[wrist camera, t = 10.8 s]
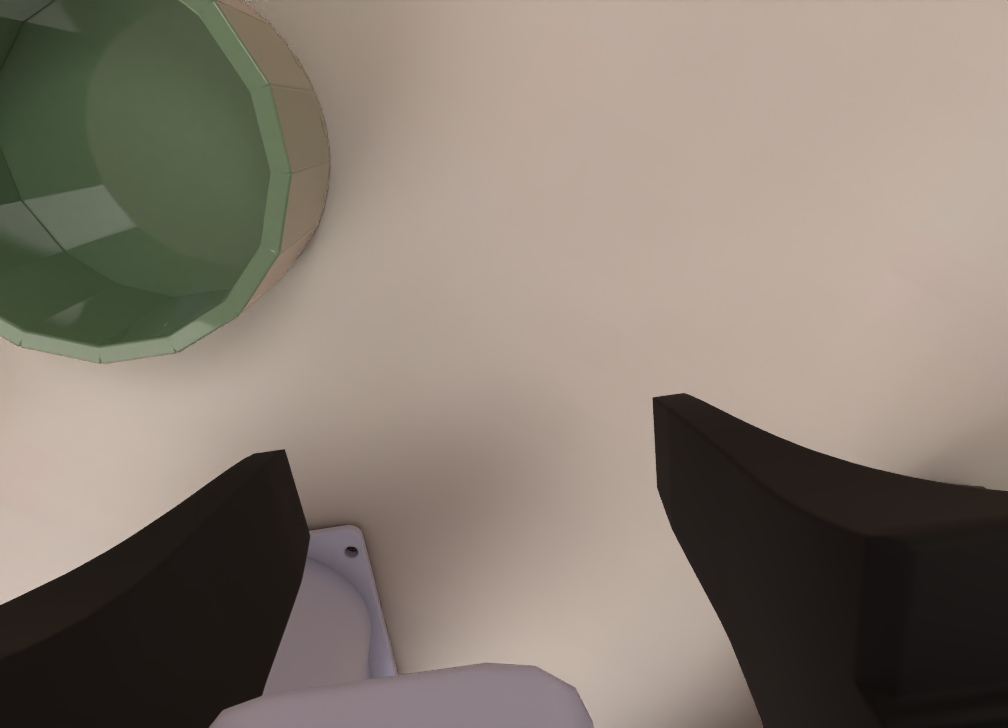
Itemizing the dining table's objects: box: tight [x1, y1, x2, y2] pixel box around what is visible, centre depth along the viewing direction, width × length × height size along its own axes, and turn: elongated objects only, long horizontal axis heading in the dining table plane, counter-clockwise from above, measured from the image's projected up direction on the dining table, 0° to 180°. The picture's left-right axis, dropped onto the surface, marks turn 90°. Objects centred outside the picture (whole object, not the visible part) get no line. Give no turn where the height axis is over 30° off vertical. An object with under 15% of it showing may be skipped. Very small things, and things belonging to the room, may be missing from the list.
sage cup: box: [0, 0, 330, 364], centre depth 17 cm, size 10×10×5 cm
